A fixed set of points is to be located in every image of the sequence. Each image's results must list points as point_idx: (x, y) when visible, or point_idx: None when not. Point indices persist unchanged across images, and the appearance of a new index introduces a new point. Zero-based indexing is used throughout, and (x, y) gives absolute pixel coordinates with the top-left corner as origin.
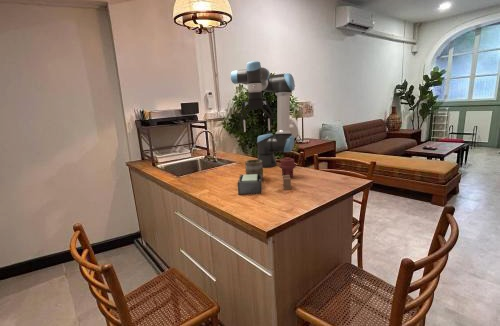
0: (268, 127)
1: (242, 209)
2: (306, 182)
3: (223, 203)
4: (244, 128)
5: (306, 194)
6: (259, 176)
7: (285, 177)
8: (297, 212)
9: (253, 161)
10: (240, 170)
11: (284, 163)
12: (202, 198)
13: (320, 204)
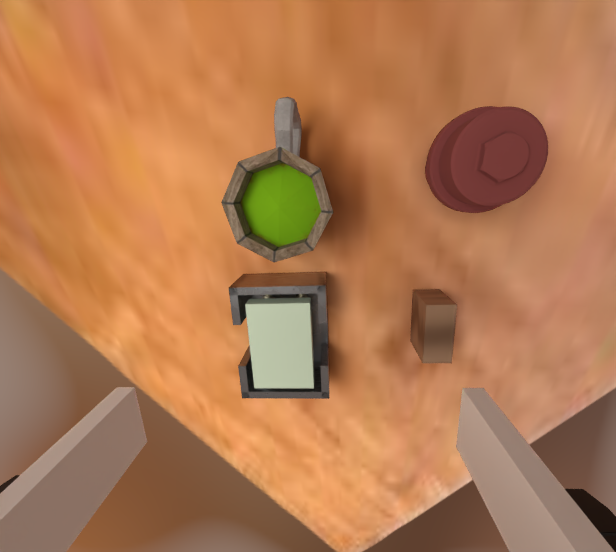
0: (481, 447)
1: (285, 469)
2: (516, 259)
3: (225, 429)
4: (104, 485)
5: None
6: (320, 322)
7: (432, 341)
8: (422, 497)
9: (271, 164)
10: None
11: (465, 200)
12: (148, 387)
13: None
